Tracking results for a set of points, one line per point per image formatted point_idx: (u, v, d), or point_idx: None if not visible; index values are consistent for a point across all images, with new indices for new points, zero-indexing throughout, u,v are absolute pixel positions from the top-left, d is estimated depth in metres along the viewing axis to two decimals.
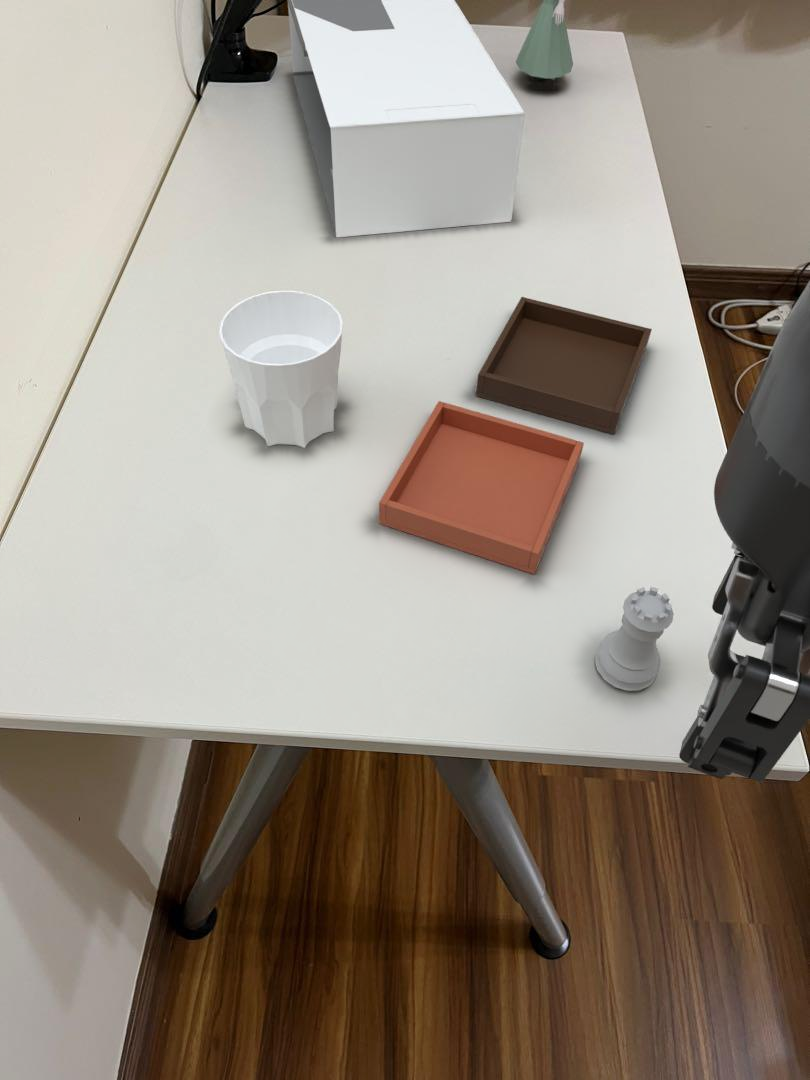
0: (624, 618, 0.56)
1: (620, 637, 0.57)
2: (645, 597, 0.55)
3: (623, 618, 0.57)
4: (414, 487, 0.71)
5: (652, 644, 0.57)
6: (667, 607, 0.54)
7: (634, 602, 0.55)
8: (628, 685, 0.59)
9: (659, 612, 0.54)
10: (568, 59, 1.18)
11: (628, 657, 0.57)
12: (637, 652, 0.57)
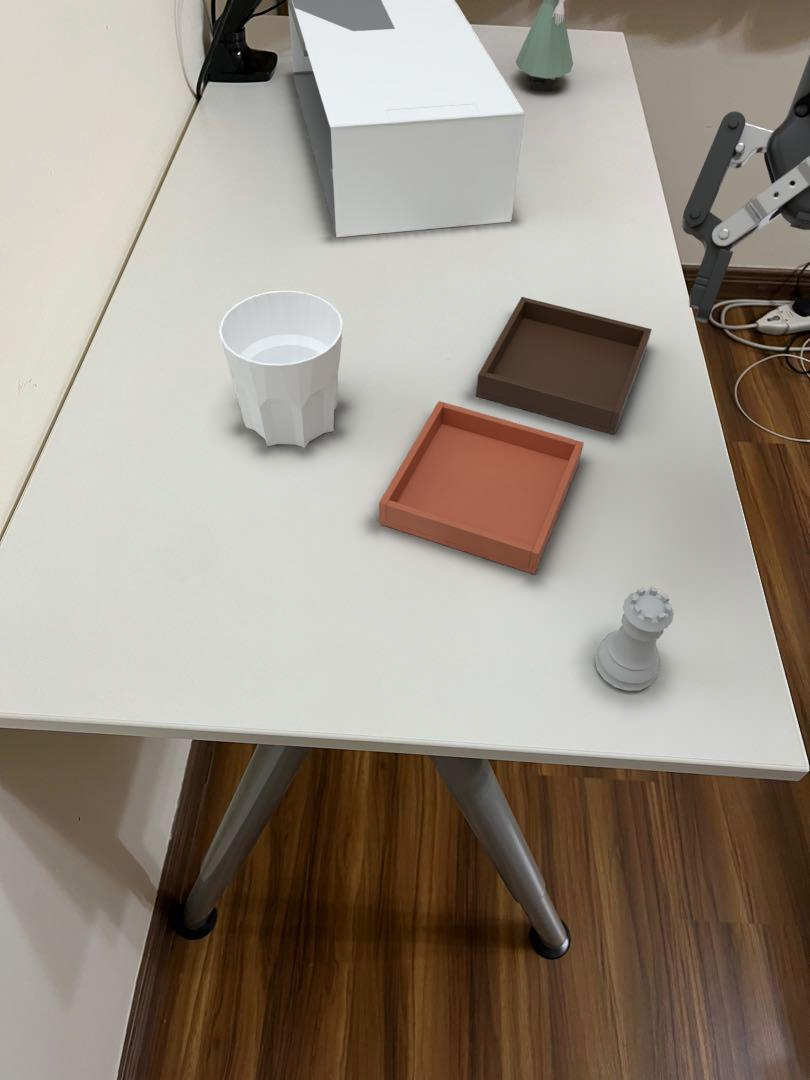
0: (624, 618, 0.56)
1: (620, 637, 0.57)
2: (645, 597, 0.55)
3: (623, 618, 0.57)
4: (414, 487, 0.71)
5: (652, 644, 0.57)
6: (667, 607, 0.54)
7: (634, 602, 0.55)
8: (628, 685, 0.59)
9: (659, 612, 0.54)
10: (568, 59, 1.18)
11: (628, 657, 0.57)
12: (637, 652, 0.57)
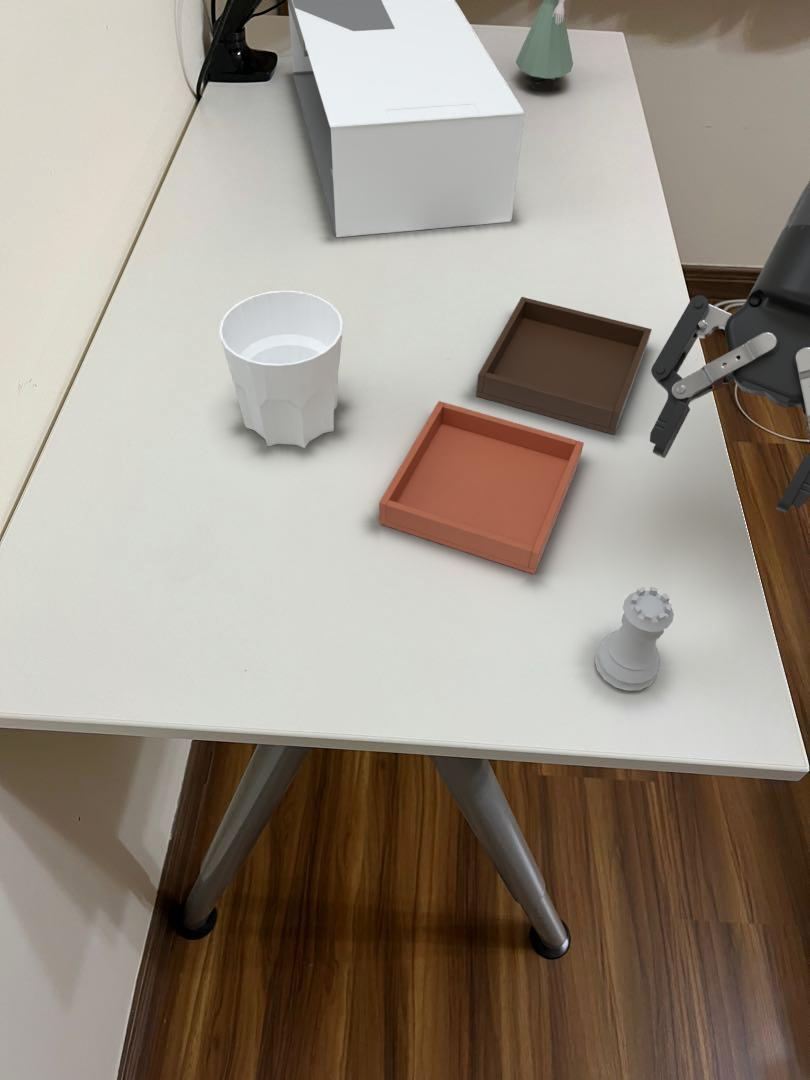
0: (624, 618, 0.56)
1: (620, 637, 0.57)
2: (645, 597, 0.55)
3: (623, 618, 0.57)
4: (414, 487, 0.71)
5: (652, 644, 0.57)
6: (667, 607, 0.54)
7: (635, 602, 0.55)
8: (628, 685, 0.59)
9: (659, 612, 0.54)
10: (568, 59, 1.18)
11: (628, 657, 0.57)
12: (637, 652, 0.57)
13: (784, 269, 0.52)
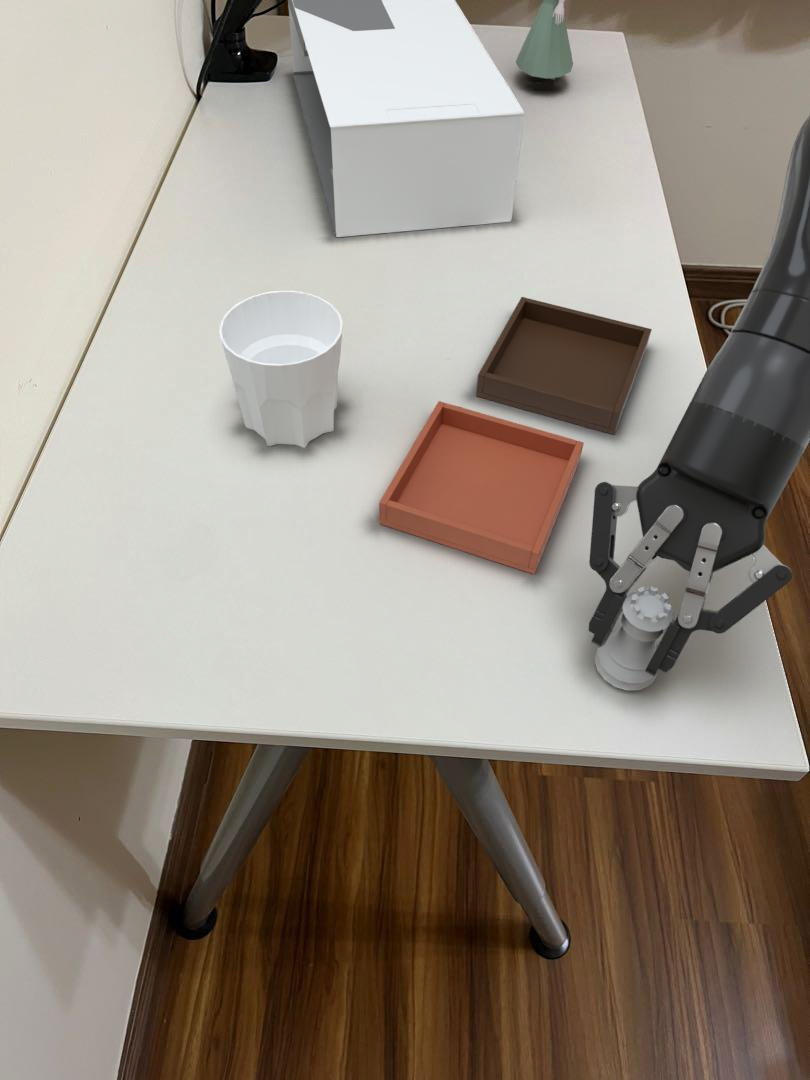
0: (624, 618, 0.56)
1: (620, 637, 0.57)
2: (645, 597, 0.55)
3: (623, 618, 0.57)
4: (414, 487, 0.71)
5: (652, 644, 0.57)
6: (666, 607, 0.54)
7: (634, 602, 0.55)
8: (628, 685, 0.59)
9: (658, 612, 0.54)
10: (568, 59, 1.18)
11: (628, 657, 0.57)
12: (637, 652, 0.57)
13: (688, 447, 0.52)
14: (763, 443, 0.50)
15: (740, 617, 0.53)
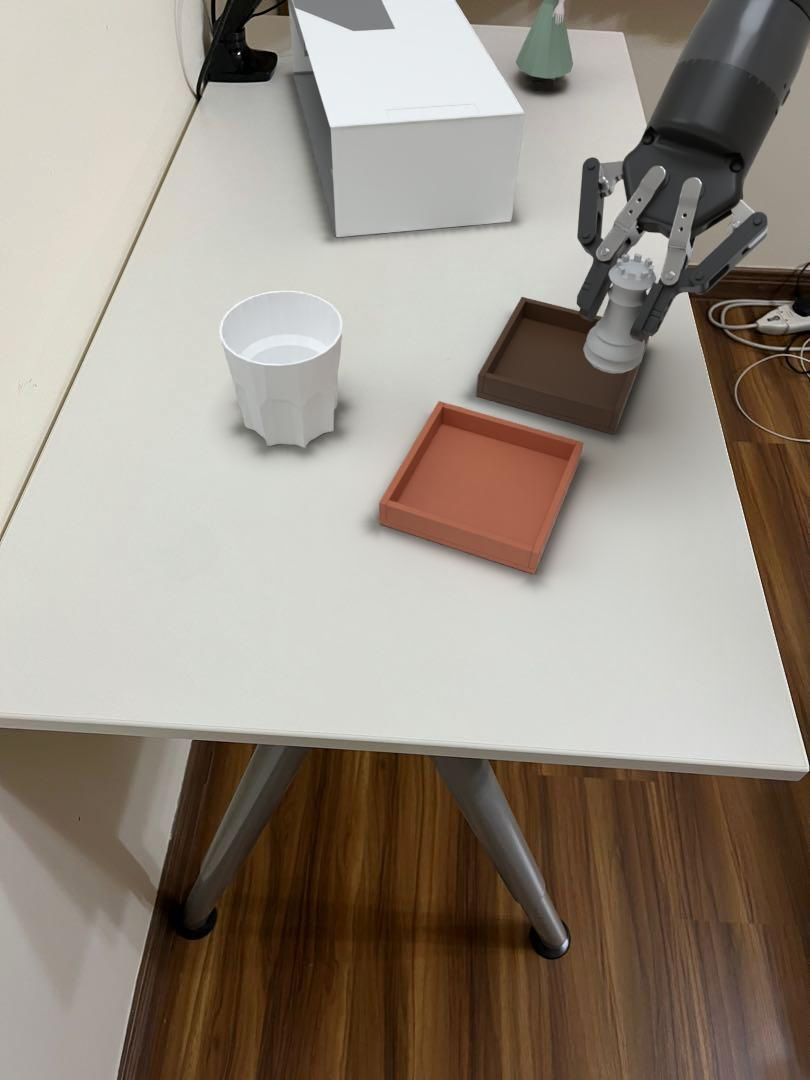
0: (610, 289, 0.60)
1: (606, 312, 0.61)
2: (629, 262, 0.58)
3: (609, 290, 0.60)
4: (414, 487, 0.71)
5: (636, 315, 0.60)
6: (650, 267, 0.57)
7: (619, 265, 0.58)
8: (614, 366, 0.62)
9: None
10: (568, 59, 1.18)
11: (614, 331, 0.61)
12: (622, 324, 0.60)
13: (670, 102, 0.55)
14: (740, 86, 0.53)
15: (719, 266, 0.56)
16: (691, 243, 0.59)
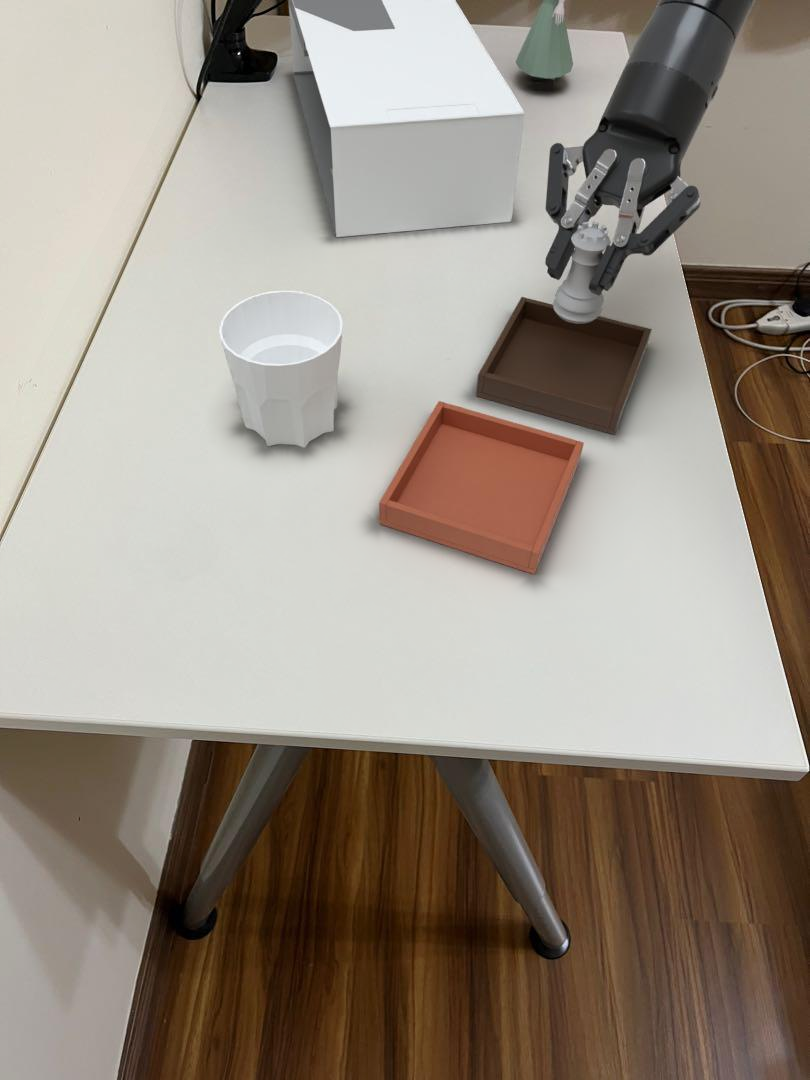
0: (573, 252, 0.72)
1: (570, 271, 0.73)
2: (588, 229, 0.71)
3: (572, 252, 0.72)
4: (414, 487, 0.71)
5: None
6: (604, 232, 0.70)
7: (579, 231, 0.70)
8: (578, 317, 0.74)
9: None
10: (568, 59, 1.18)
11: (576, 287, 0.73)
12: (583, 281, 0.72)
13: (619, 97, 0.68)
14: (674, 83, 0.66)
15: (660, 231, 0.68)
16: (639, 213, 0.71)
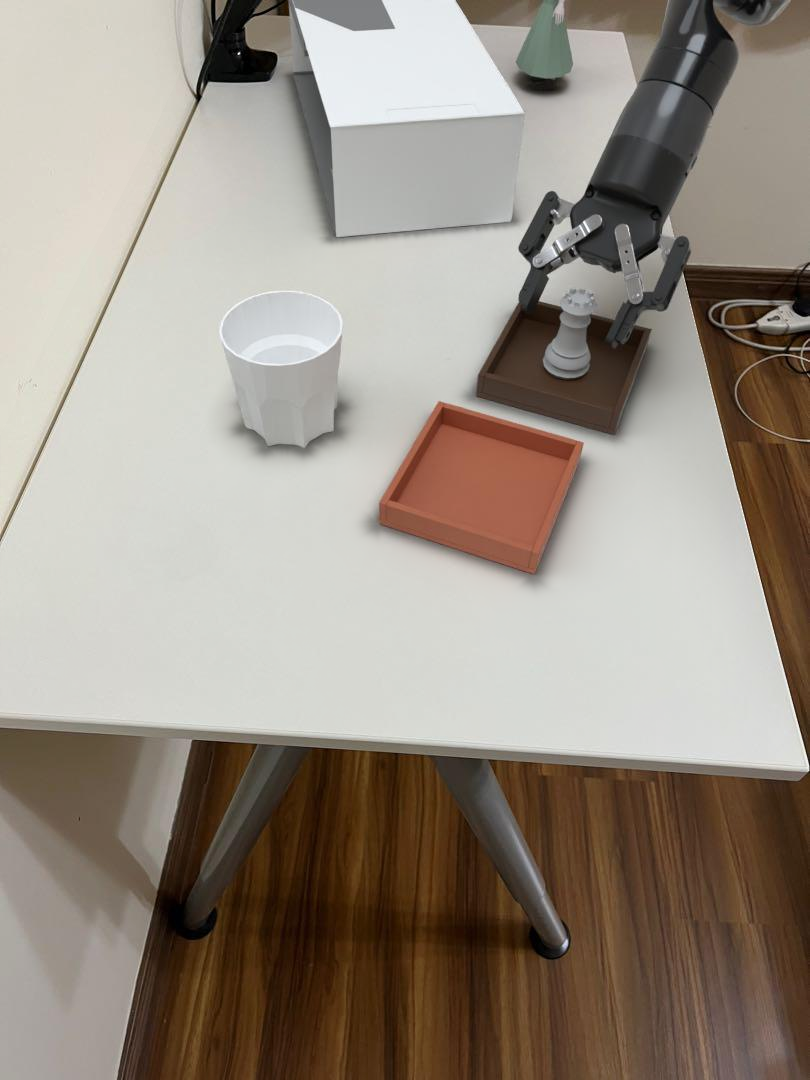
0: (561, 314, 0.77)
1: (559, 332, 0.78)
2: (576, 294, 0.76)
3: (561, 315, 0.77)
4: (414, 487, 0.71)
5: (582, 334, 0.77)
6: (591, 298, 0.75)
7: (568, 296, 0.75)
8: (566, 373, 0.79)
9: None
10: (568, 59, 1.18)
11: (565, 347, 0.78)
12: (571, 341, 0.77)
13: (604, 166, 0.72)
14: (655, 156, 0.70)
15: (669, 284, 0.72)
16: (638, 270, 0.75)
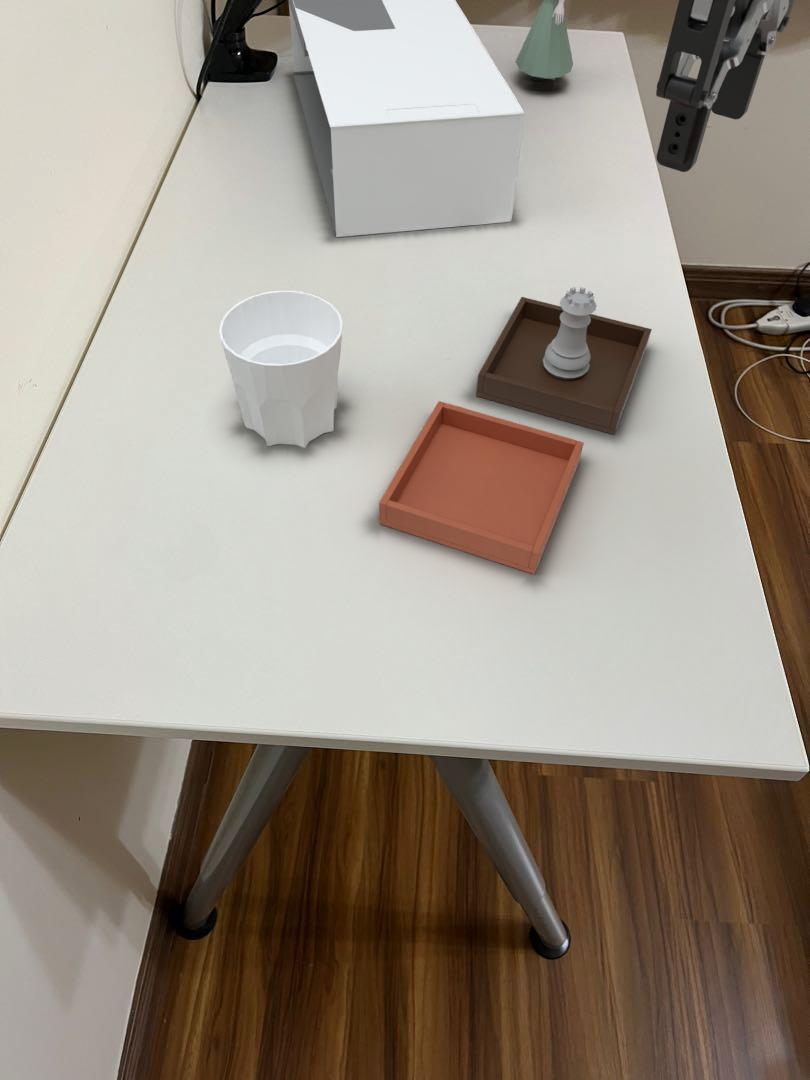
0: (561, 314, 0.77)
1: (559, 332, 0.78)
2: (576, 294, 0.76)
3: (561, 315, 0.77)
4: (414, 487, 0.71)
5: (582, 334, 0.77)
6: (591, 298, 0.75)
7: (568, 296, 0.75)
8: (566, 374, 0.79)
9: None
10: (568, 59, 1.18)
11: (565, 347, 0.78)
12: (571, 341, 0.77)
13: None
14: None
15: None
16: None
